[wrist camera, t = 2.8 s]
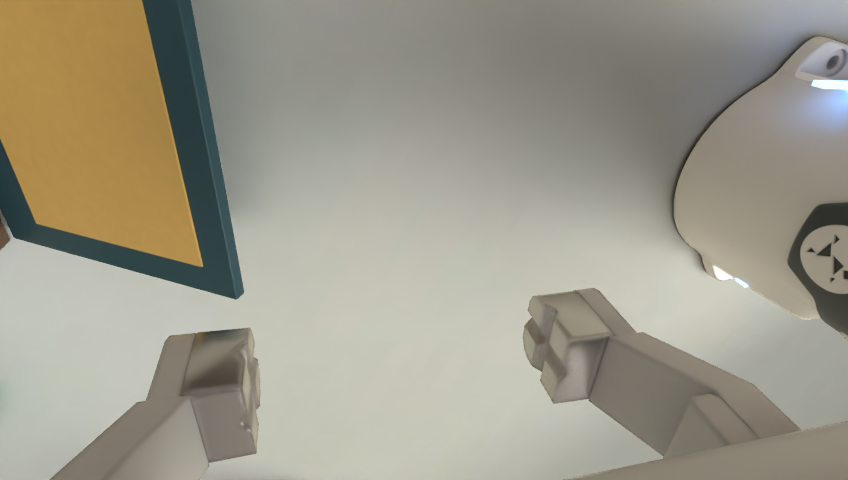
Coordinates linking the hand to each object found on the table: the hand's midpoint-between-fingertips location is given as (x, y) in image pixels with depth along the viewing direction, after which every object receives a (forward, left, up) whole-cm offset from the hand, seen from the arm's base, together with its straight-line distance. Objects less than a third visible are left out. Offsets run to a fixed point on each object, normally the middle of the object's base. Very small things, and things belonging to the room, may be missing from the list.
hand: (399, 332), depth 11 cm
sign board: (+11, 0, -15) cm, 19 cm away
